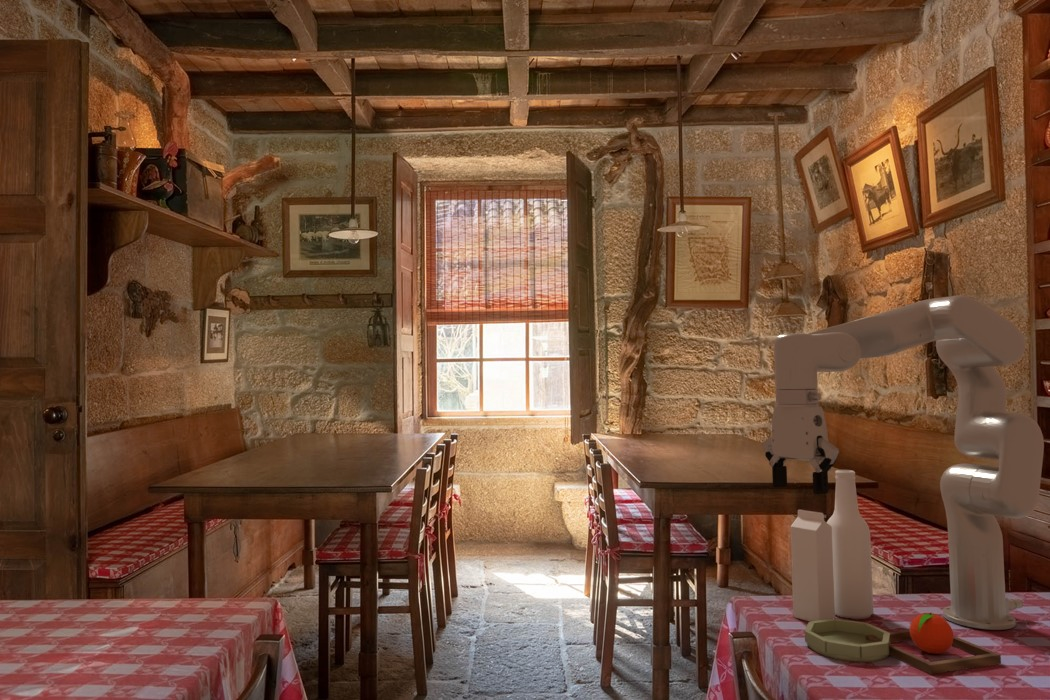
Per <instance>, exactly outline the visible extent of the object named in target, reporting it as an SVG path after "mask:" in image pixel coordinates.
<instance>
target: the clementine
mask: <svg viewBox="0 0 1050 700" xmlns="http://www.w3.org/2000/svg"><path fill="white" fill-rule="evenodd" d="M909 630H910V636H911V638H912V642H913V643H914V645H915V646H916V647H917V648H919V649H920V650H922V652H926V653H928V654H932V655H939V654H943V653H945V652H947V651H948V650H949V649H950V648H951V645H952V643H953V636H954V632H953V629H952V627H951V625H950V624H949V622H948V621H947V619H946V618H945V619H944V617H942V616H940V615H938V614H937V613H933V612H922V613H920V614H918V615H916V616H915V617H913V619H912V620H911V623H910V625H909Z"/></svg>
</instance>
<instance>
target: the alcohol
mask: <svg viewBox="0 0 1050 700" xmlns="http://www.w3.org/2000/svg"><path fill="white" fill-rule="evenodd" d="M834 474H835V476H834V478H835V492H834V493H835V494H834V495H835V496H834V510H833V513H832V515H831V516H830V517H829V518H828V519H827V521H826V523H828V524H829V525H830V526H831V527H832V548H833V576H834V603H835V616H836V615H837V616H836V617H839V616H840V618H843V617H845V618H844V619H848V618H851V619H850V620H865V619H869V618H870V617H872V615H873V613H874V597H873V596H874V594H873V593H874V592H873V590H874V589H873V570H872V568H873V567H872V566H873V565H872V542H871V530H870V526H869V524H868V523H867V521H866V520H865V519H864V518H863V517H862V516H861V513H860V511H859V502H858V495H857V487H856V479H857V477H856V472H855V471H854V470H851V469H837V470H835V471H834Z"/></svg>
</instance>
